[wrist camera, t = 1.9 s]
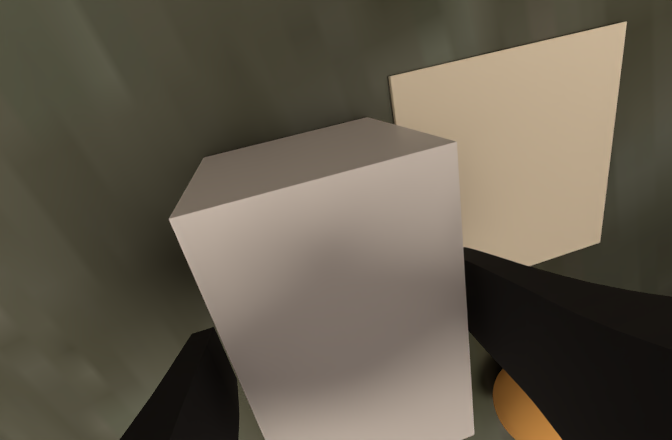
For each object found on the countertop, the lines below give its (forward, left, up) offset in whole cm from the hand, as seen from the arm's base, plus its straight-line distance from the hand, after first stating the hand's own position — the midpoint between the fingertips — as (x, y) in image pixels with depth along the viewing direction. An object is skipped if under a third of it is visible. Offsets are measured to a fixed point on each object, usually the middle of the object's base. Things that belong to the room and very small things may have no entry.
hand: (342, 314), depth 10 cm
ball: (-9, +11, -2) cm, 14 cm away
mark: (-9, -1, -4) cm, 10 cm away
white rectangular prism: (0, 0, -4) cm, 4 cm away
